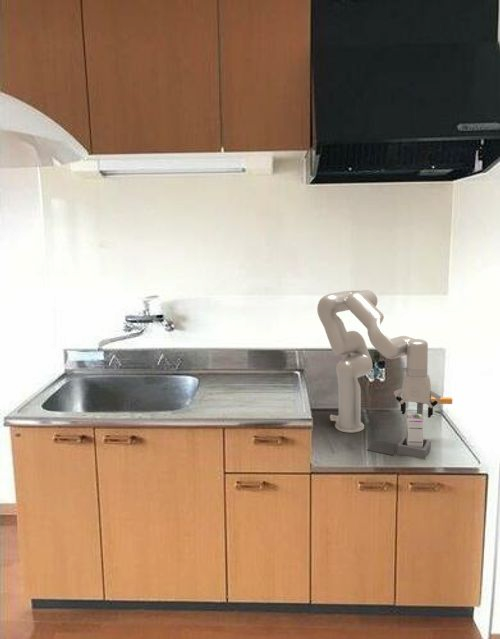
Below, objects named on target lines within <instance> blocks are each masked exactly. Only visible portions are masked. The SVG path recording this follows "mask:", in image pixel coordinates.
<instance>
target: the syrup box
mask: <svg viewBox="0 0 500 639" xmlns="http://www.w3.org/2000/svg"><path fill="white" fill-rule="evenodd" d="M406 436H407V441H406V446H411V447H417V448H422V449H423V439H424V417H423V418H422V415H421V414H417V413H416V412H415V413H413V412H412V413H406Z"/></svg>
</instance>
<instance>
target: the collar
mask: <svg viewBox="0 0 500 639" xmlns="http://www.w3.org/2000/svg"><path fill="white" fill-rule="evenodd" d="M406 441H407V434H404V435H403V436H402V438H401V439H400V441H399V442H398V443H397V444H398V448H397V454H398V455H403V456H407V457H413V458H417V459H421V460H426V458H427V457H428V455H429V453H430V450H431V449H432V448H431V447H432V442H431V441H432V439H428V438H423V449H422V448H417V447H411V446H406Z"/></svg>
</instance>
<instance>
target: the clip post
mask: <svg viewBox="0 0 500 639" xmlns="http://www.w3.org/2000/svg"><path fill="white" fill-rule="evenodd" d="M416 414H421V415H422V418H423V419H424V404H418V403H416Z"/></svg>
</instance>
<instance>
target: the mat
mask: <svg viewBox="0 0 500 639" xmlns="http://www.w3.org/2000/svg"><path fill="white" fill-rule="evenodd" d="M398 444H399V443H394V442H389V441H383V440H379V439H374V440H372V442H371V443H370V445H369V446H368V448H367V449H366V451H367V452H374V453H379V454H384V455H389V456H394V454H395V453H396V452H397V451H396V450H398Z"/></svg>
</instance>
